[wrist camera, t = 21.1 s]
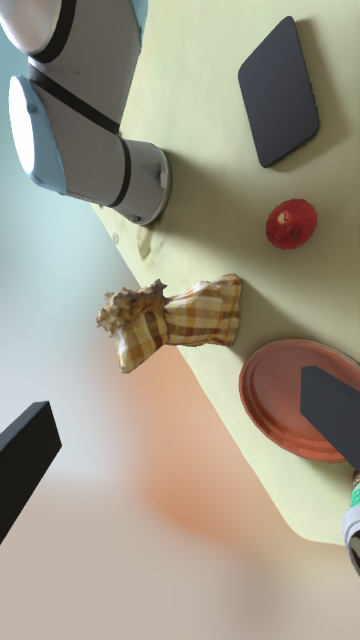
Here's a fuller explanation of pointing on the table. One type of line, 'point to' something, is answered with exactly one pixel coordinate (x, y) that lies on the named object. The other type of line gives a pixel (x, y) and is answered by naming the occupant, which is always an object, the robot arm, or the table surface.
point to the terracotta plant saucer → (291, 393)
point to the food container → (353, 525)
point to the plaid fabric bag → (171, 318)
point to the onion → (291, 224)
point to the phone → (278, 95)
